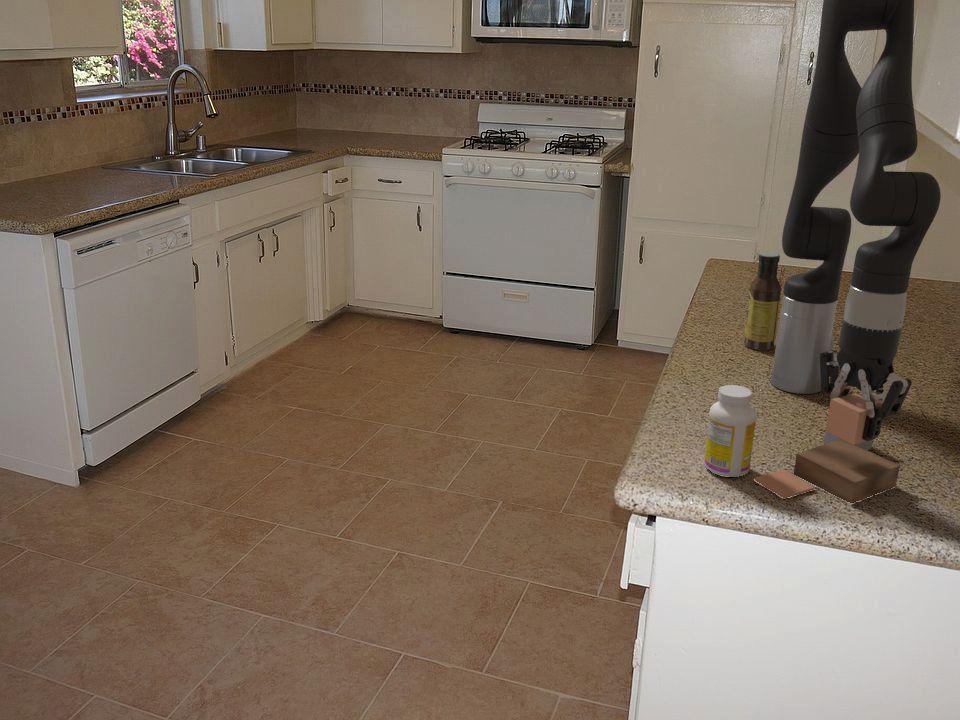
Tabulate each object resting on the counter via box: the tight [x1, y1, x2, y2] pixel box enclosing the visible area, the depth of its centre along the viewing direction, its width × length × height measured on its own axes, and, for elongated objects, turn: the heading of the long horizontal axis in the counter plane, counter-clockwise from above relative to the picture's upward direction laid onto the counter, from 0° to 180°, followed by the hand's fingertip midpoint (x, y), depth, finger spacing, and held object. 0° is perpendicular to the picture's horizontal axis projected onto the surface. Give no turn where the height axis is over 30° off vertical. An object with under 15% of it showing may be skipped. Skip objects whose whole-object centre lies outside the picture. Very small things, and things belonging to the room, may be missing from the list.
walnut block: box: [793, 439, 900, 503], centre depth 128 cm, size 10×10×4 cm
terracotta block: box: [825, 393, 879, 445], centre depth 125 cm, size 5×5×5 cm
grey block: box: [823, 430, 874, 451], centre depth 138 cm, size 5×5×5 cm
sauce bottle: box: [743, 251, 782, 352], centre depth 179 cm, size 6×6×20 cm
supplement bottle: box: [703, 384, 757, 478], centre depth 129 cm, size 7×7×13 cm
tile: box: [753, 469, 816, 498], centre depth 127 cm, size 6×6×1 cm
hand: (852, 431), depth 125 cm, fingers closed on terracotta block, 5 cm apart
